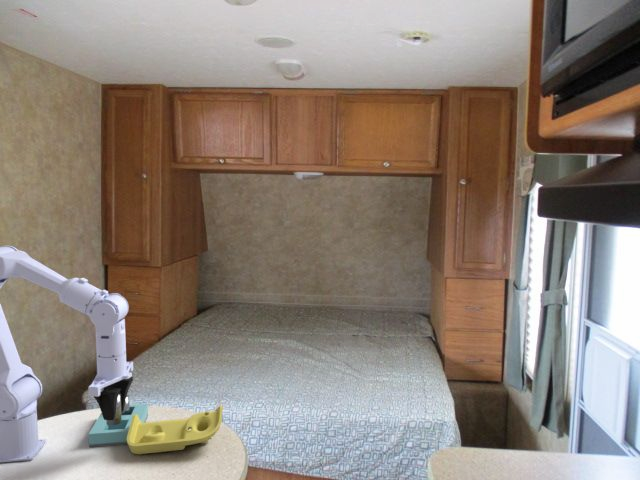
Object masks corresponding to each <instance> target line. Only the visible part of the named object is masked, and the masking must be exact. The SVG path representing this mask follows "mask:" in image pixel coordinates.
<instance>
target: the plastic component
mask: <svg viewBox="0 0 640 480" xmlns="http://www.w3.org/2000/svg"><path fill="white" fill-rule="evenodd" d="M223 410H224V409H223V405H219V406H217V407H216V409H215V410H213V411H209V410H206V411H203V412H197V413H194V414H193V415H191V416H190V417H188V418H178V419H177V418H176V419H168V420H167V419H165V420H158V421H148V422H147V421H146V422H145V423H141V421H140V419H139V417H138V415H137V414H133V416H132V420H131V424H130V428H129V431H128V435H127V443H128V444H127V446H128V448H129V451H130V452H131V453H132V454H134V455H144V454H154V453H155V454H156V453H162V452H175V451H183V450H184V449H185V447H186V446H191V445H195V444H199V443H200V444H203V443H209V440H212V439H213V437H214V436H215V435H216V433H217V432H218V431H219V430H220V428H221V425H222V420H223Z"/></svg>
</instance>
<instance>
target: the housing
mask: <svg viewBox="0 0 640 480" xmlns="http://www.w3.org/2000/svg"><path fill="white" fill-rule="evenodd" d="M129 406H130V415H121V416H122V422H121V423H119V424H117V425H107V424H106V420H104V418H103V415H102V412H101V413H100V414H99V416H98V418H97V419H96V421H95V423H94V425H93V426H92V428H91V429H90V431H89V432H88V447H89V448H94V447H109V446H111V447H112V446H119V445H120V446H122V445H128V443H127V435H128V431H129V428H130V424H131V420H132V416H133V414H137V415H138V417H139V419H140V421H141V423H146V422H147V419H148V415H149V411H148V410H149V408H148V407H149V405H148V403H139V404H138V403H136V404H129Z"/></svg>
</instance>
